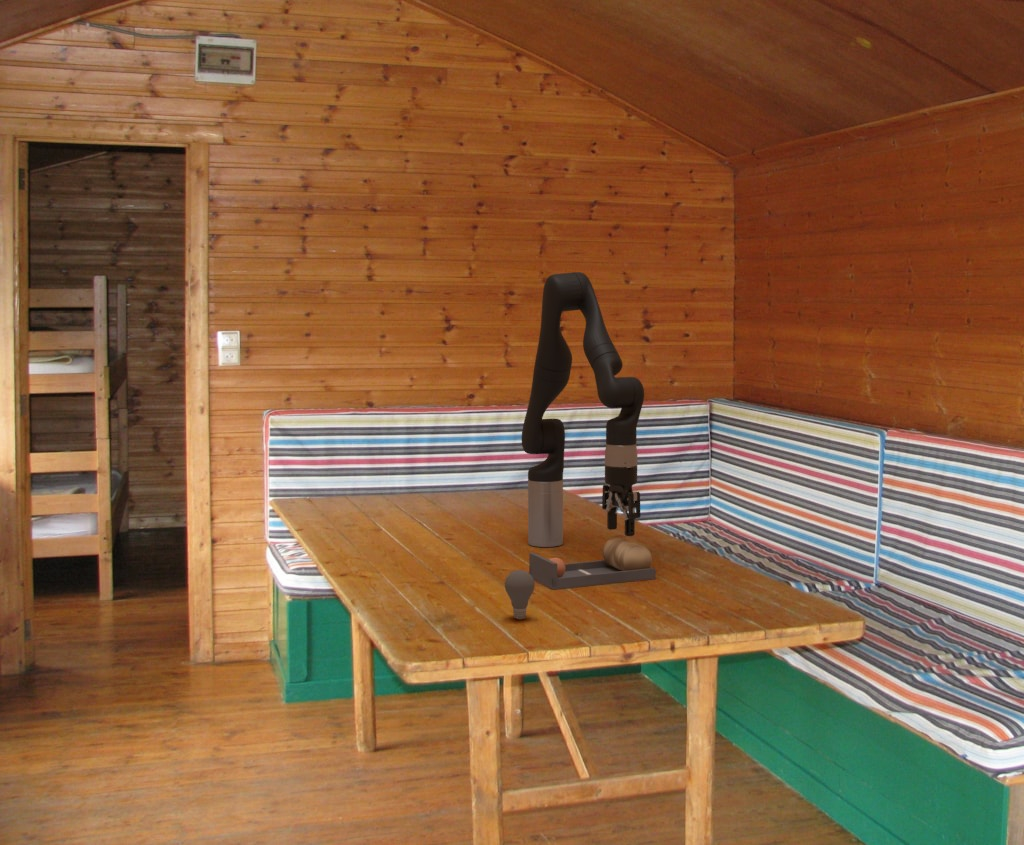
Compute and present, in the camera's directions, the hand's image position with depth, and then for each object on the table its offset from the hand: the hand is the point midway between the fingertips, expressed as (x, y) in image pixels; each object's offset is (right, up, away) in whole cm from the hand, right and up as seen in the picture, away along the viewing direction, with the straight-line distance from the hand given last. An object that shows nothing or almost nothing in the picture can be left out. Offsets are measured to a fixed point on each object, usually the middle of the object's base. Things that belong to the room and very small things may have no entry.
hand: (620, 532), depth 272 cm
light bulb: (-24, -14, -37) cm, 46 cm away
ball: (-13, -7, -5) cm, 16 cm away
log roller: (+1, -10, +2) cm, 10 cm away
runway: (-7, -10, -2) cm, 13 cm away
